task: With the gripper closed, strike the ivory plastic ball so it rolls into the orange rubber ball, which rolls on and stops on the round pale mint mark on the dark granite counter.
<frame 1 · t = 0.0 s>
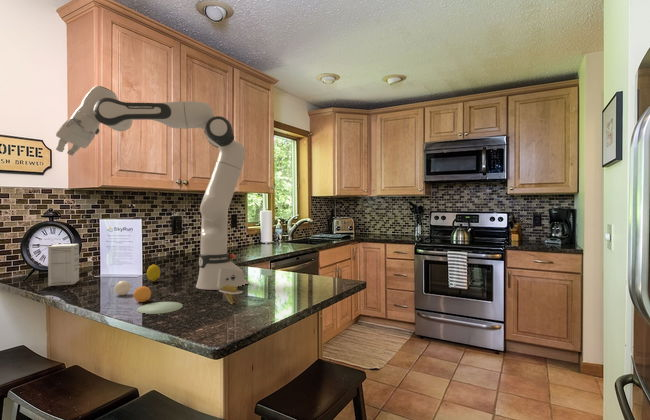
hand: (64, 152, 137), 54 cm above the counter, tool tilted 30°, fingers open, 8 cm apart
object ball: (142, 294, 126), on the counter
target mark: (160, 307, 119), on the counter
cue ball: (122, 288, 135), on the counter
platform: (228, 304, 126), on the counter
lemon: (153, 282, 160), on the counter
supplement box: (64, 283, 154), on the counter
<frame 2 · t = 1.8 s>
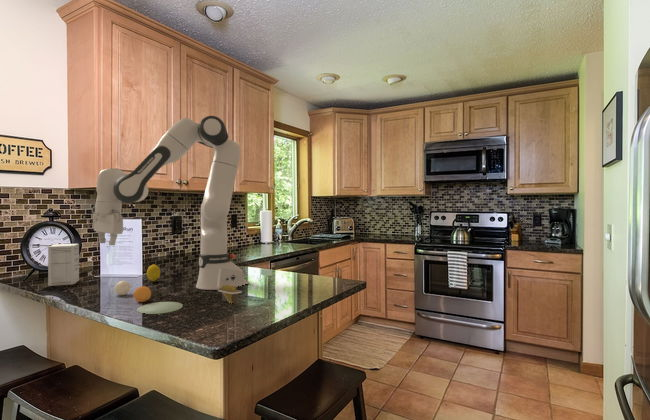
hand: (107, 244, 140), 19 cm above the counter, tool pointing down, fingers open, 8 cm apart
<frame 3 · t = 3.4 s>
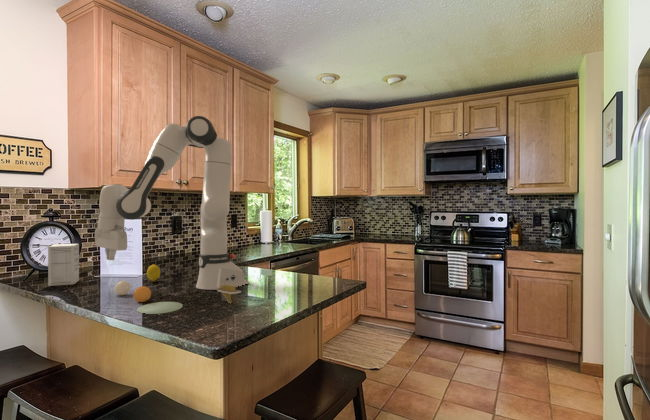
hand: (110, 259, 140), 13 cm above the counter, tool pointing down, fingers closed
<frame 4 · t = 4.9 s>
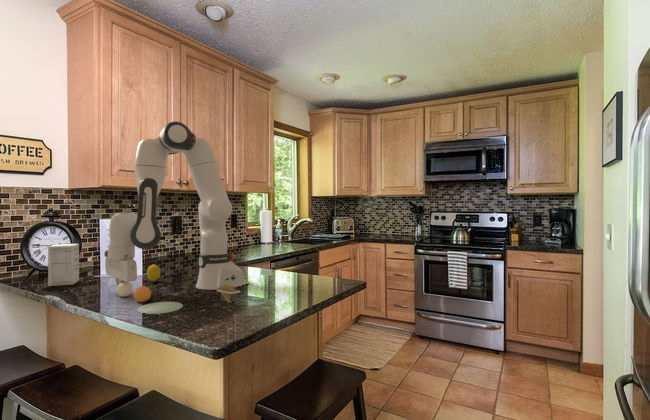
hand: (120, 289, 136), 2 cm above the counter, tool pointing down, fingers closed
cue ball: (124, 289, 133), on the counter
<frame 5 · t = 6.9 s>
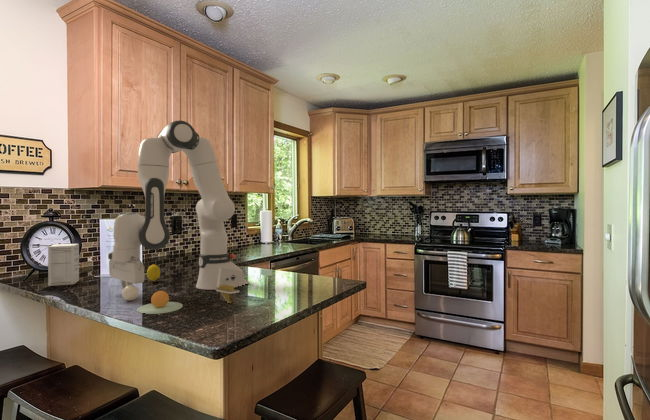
hand: (126, 292, 133), 2 cm above the counter, tool pointing down, fingers closed
object ball: (160, 299, 120), on the counter
cue ball: (130, 292, 128), on the counter
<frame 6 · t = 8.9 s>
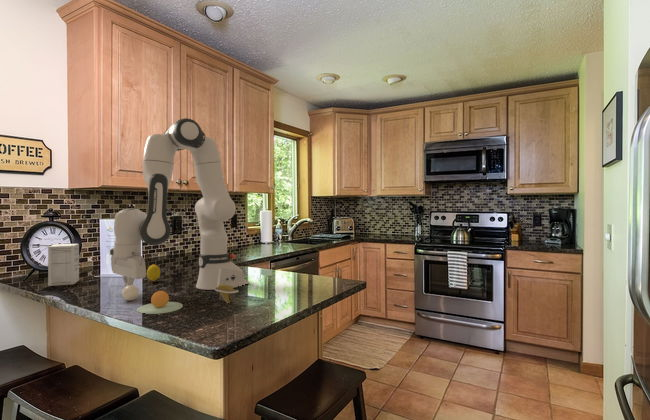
hand: (128, 287, 134), 3 cm above the counter, tool pointing down, fingers closed
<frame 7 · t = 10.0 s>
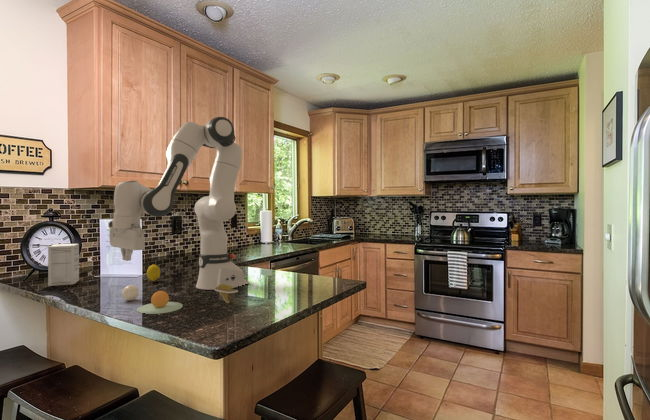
hand: (126, 260, 133), 14 cm above the counter, tool pointing down, fingers closed
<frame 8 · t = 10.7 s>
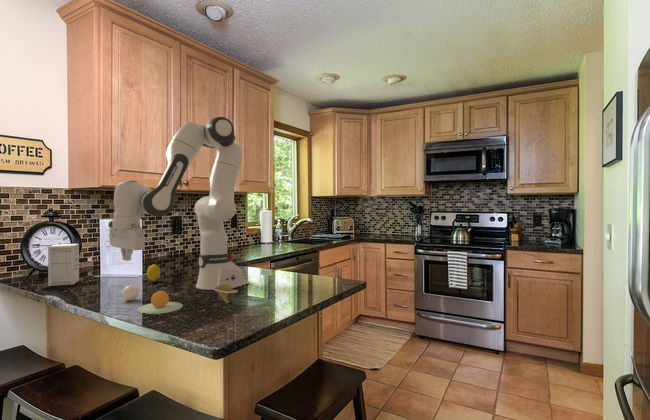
hand: (126, 260, 133), 14 cm above the counter, tool pointing down, fingers closed
at the end: object ball 0.8 cm from the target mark (horizontally); object ball never touched the robot; cue ball first touched object ball at 5.1 s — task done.
